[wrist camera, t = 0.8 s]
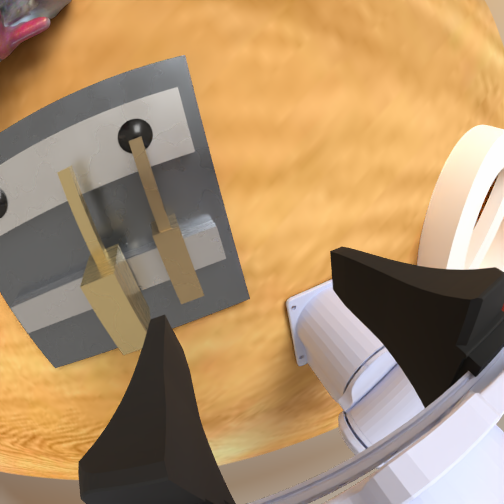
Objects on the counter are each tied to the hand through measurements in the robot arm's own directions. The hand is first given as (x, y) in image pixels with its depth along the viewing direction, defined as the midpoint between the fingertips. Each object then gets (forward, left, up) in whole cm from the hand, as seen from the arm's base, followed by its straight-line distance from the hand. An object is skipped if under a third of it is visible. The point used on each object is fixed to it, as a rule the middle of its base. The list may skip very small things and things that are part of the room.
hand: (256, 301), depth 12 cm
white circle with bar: (-12, -35, -11) cm, 39 cm away
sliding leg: (+2, +7, -8) cm, 10 cm away
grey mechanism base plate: (+2, +8, -10) cm, 13 cm away
